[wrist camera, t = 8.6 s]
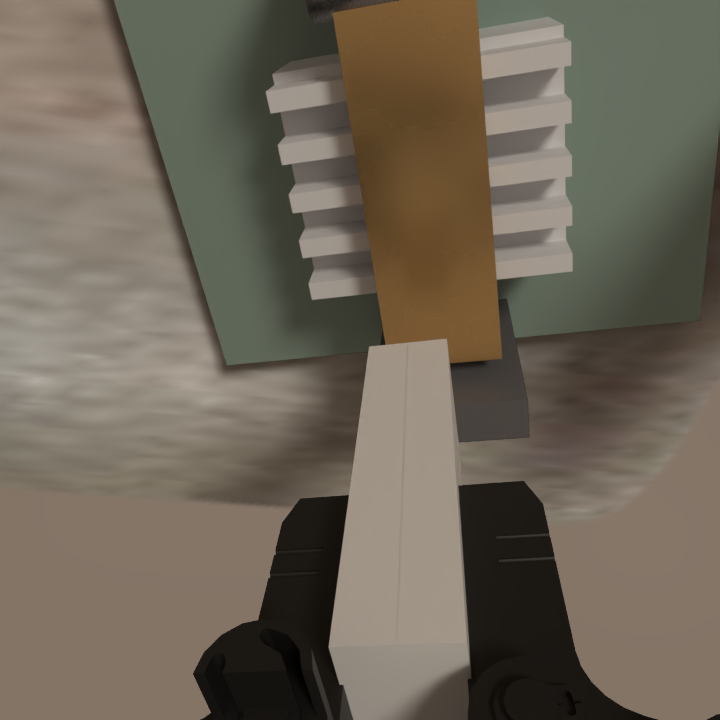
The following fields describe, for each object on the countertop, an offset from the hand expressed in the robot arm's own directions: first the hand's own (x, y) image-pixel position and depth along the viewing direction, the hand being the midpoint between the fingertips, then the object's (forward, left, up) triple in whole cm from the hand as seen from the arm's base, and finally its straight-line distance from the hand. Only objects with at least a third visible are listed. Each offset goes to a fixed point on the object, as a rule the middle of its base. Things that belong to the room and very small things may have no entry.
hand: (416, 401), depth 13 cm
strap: (0, +3, -5) cm, 6 cm away
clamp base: (0, +3, -10) cm, 11 cm away
